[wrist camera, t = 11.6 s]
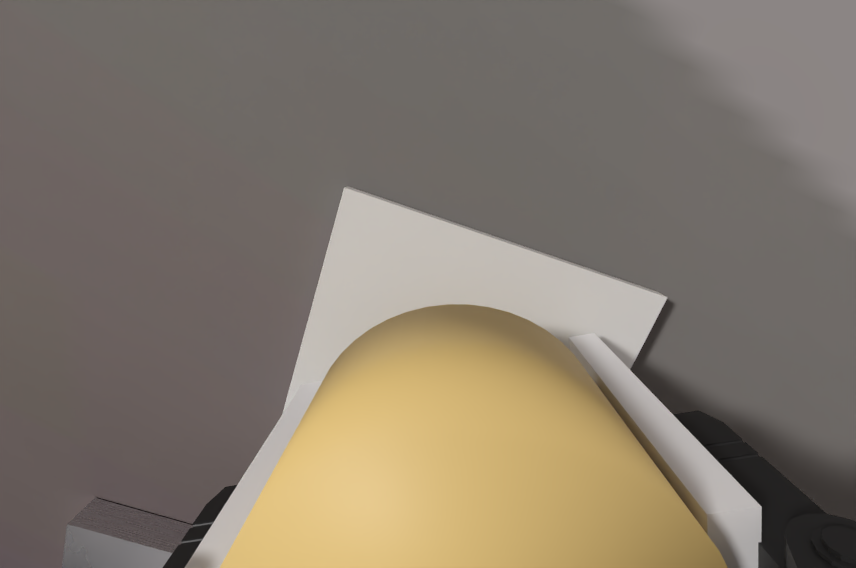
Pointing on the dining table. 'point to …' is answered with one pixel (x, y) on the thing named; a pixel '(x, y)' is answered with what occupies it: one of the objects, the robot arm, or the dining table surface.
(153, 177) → the dining table surface
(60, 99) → the dining table surface
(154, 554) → the post fixture
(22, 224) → the dining table surface
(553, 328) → the mat
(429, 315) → the cap
